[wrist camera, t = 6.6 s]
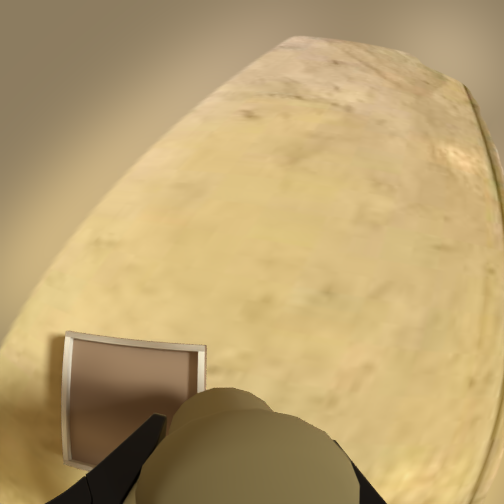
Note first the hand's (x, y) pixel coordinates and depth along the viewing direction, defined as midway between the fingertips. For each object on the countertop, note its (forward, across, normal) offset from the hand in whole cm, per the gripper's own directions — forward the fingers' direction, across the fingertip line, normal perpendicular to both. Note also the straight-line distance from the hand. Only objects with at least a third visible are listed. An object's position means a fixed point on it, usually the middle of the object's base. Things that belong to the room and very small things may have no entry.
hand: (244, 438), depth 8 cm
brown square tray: (+8, +6, +10) cm, 14 cm away
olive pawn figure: (+4, 0, +6) cm, 7 cm away
